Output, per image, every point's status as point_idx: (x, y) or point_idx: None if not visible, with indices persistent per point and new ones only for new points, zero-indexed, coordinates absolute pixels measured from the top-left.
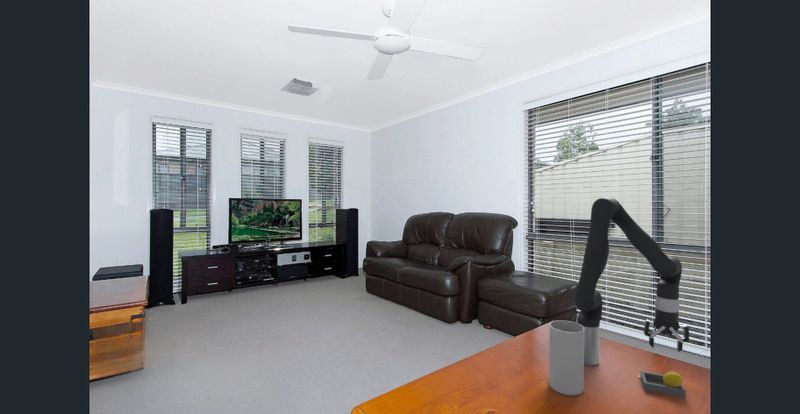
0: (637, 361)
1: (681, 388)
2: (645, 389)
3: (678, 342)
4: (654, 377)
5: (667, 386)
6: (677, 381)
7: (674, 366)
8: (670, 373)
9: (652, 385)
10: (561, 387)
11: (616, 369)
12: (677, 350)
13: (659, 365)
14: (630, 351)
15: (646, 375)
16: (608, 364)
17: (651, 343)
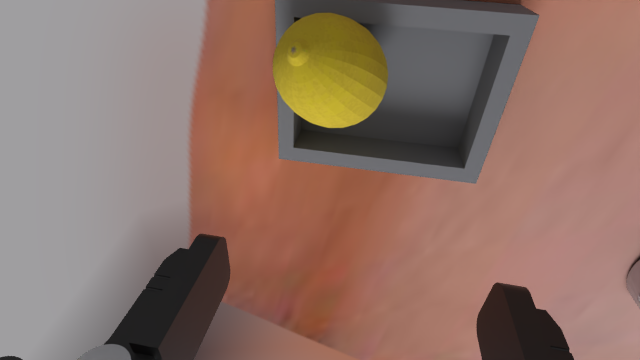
0: (410, 297)
1: (294, 18)
2: (513, 6)
3: (159, 349)
4: (404, 151)
5: (379, 15)
6: (311, 18)
7: (273, 283)
8: (344, 78)
9: (478, 10)
10: None
11: (563, 219)
12: (227, 258)
13: (328, 282)
14: (407, 355)
15: (447, 158)
16: (580, 257)
17: (539, 338)
